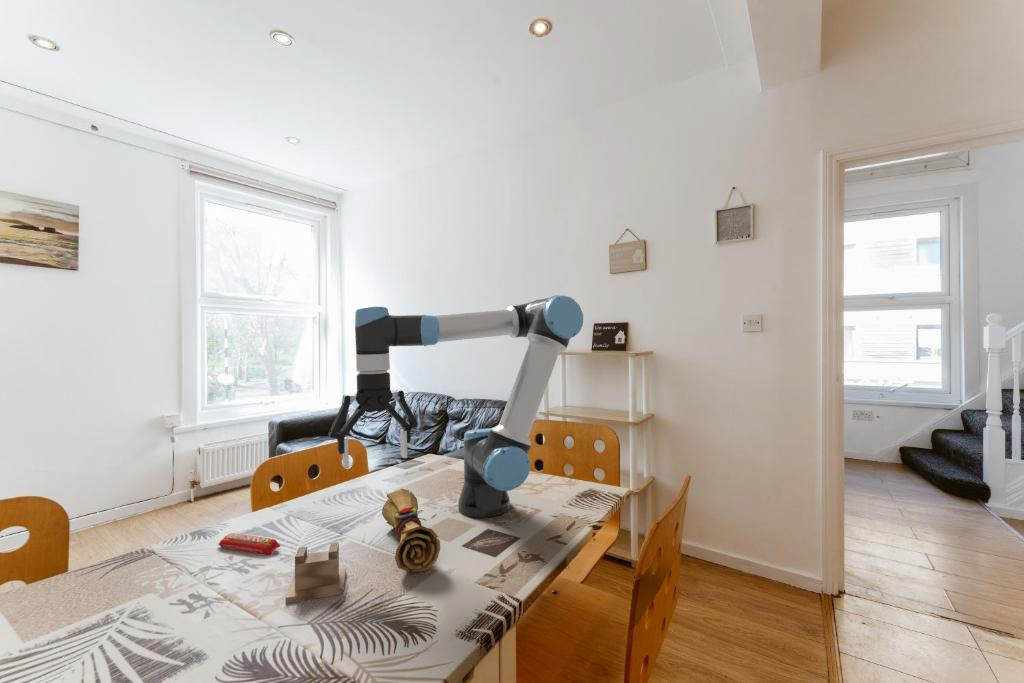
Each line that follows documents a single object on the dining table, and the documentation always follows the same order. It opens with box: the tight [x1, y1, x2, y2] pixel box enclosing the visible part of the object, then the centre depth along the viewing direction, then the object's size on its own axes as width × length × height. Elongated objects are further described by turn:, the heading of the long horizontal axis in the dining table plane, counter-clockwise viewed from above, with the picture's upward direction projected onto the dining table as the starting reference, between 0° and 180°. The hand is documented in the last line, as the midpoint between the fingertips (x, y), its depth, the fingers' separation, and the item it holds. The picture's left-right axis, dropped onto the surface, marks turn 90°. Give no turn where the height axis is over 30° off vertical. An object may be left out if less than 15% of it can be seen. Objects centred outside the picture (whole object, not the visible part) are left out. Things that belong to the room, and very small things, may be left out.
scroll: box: [381, 488, 441, 572], centre depth 102 cm, size 27×10×10 cm, turn 23°
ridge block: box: [285, 542, 347, 604], centre depth 86 cm, size 10×8×8 cm
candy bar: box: [217, 532, 281, 556], centre depth 102 cm, size 16×4×3 cm, turn 74°
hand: (376, 461), depth 102 cm, fingers open, 13 cm apart
